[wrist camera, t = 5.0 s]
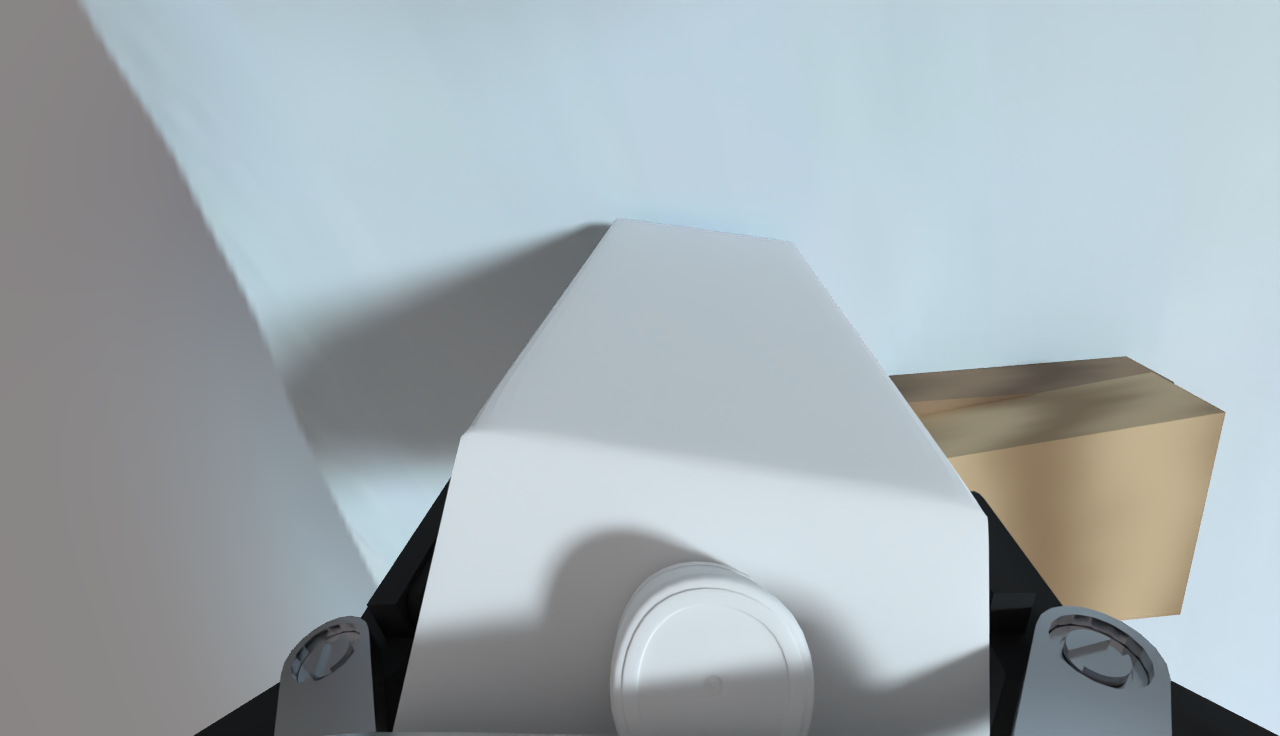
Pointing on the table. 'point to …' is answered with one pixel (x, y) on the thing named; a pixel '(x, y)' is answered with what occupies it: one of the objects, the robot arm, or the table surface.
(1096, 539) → the top slab
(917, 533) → the milk carton
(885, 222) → the table surface
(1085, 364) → the bottom slab
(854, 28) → the table surface
